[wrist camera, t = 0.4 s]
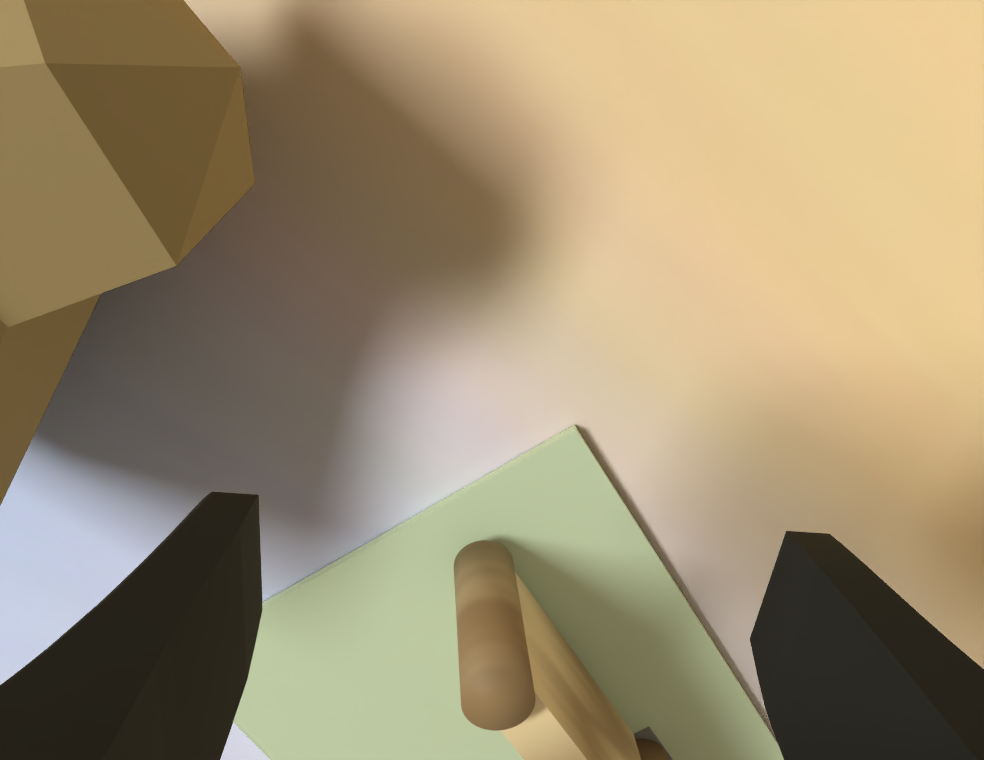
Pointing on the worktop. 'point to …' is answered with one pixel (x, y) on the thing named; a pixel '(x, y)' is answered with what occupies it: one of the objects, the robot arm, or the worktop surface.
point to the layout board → (433, 629)
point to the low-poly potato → (101, 173)
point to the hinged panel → (526, 668)
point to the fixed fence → (651, 750)
